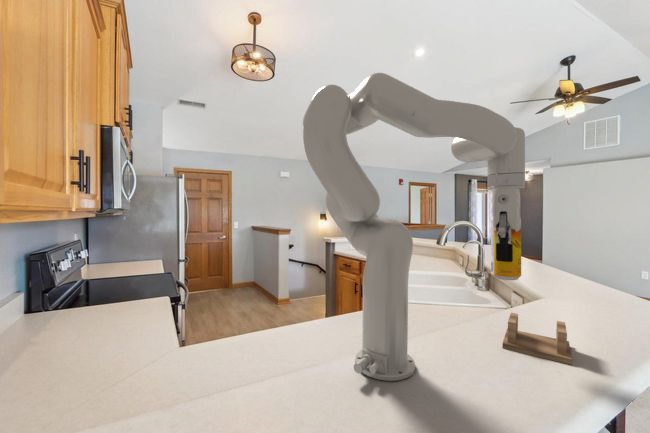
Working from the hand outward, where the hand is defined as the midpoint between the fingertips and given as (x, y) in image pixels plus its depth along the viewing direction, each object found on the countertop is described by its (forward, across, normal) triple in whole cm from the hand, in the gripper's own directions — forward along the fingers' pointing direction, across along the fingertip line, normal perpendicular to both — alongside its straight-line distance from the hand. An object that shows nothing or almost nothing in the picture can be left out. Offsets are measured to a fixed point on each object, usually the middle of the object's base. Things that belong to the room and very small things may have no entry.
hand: (505, 258), depth 70 cm
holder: (+22, +6, -6) cm, 24 cm away
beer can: (+5, 0, 0) cm, 5 cm away
